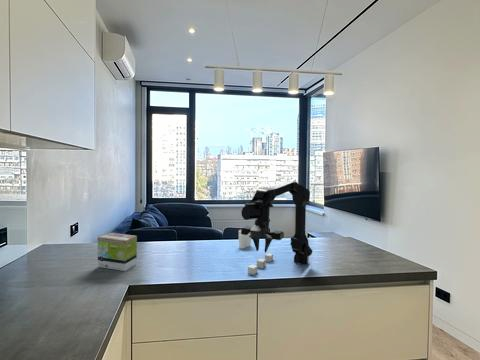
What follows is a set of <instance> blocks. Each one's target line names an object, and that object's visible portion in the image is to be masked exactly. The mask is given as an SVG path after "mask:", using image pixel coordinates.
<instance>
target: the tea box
mask: <svg viewBox="0 0 480 360" xmlns="http://www.w3.org/2000/svg"><path fill="white" fill-rule="evenodd" d="M137 245H138V236H137V235H131V234H125V233H118V232H116V233H115V232H109V233H106V234H104V235H101V236H98V237H97V268H101V269H102V268H103V269H110V270H116V271H121V272H126V271H128V270H130V269H131V268H133V267H135V266H136V265H137V258H138V256H137V254H138V252H137V250H138V248H137V247H138V246H137Z"/></svg>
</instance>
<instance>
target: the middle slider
mask: <svg viewBox="0 0 480 360" xmlns="http://www.w3.org/2000/svg"><path fill="white" fill-rule="evenodd" d="M266 264H267V261H266V259H265V258H259V259H257V260H256V265H257V266H258V268H261V269H263V268H265V267H266Z"/></svg>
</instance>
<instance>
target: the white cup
mask: <svg viewBox="0 0 480 360" xmlns="http://www.w3.org/2000/svg"><path fill="white" fill-rule="evenodd" d="M249 236H250V233H249V234H248V235H243V234H241V229H239V230H238V248H239V249H245V248H247V247H248V248H249V247H251V246H252V245H251V244H252V238H251V237H249Z"/></svg>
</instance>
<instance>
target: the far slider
mask: <svg viewBox="0 0 480 360" xmlns="http://www.w3.org/2000/svg"><path fill="white" fill-rule="evenodd" d="M264 259H266V262H268V263H271V262H272V261H274V254H273V253H270V252H268V253H267V252H266V253H265V254H264Z"/></svg>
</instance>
